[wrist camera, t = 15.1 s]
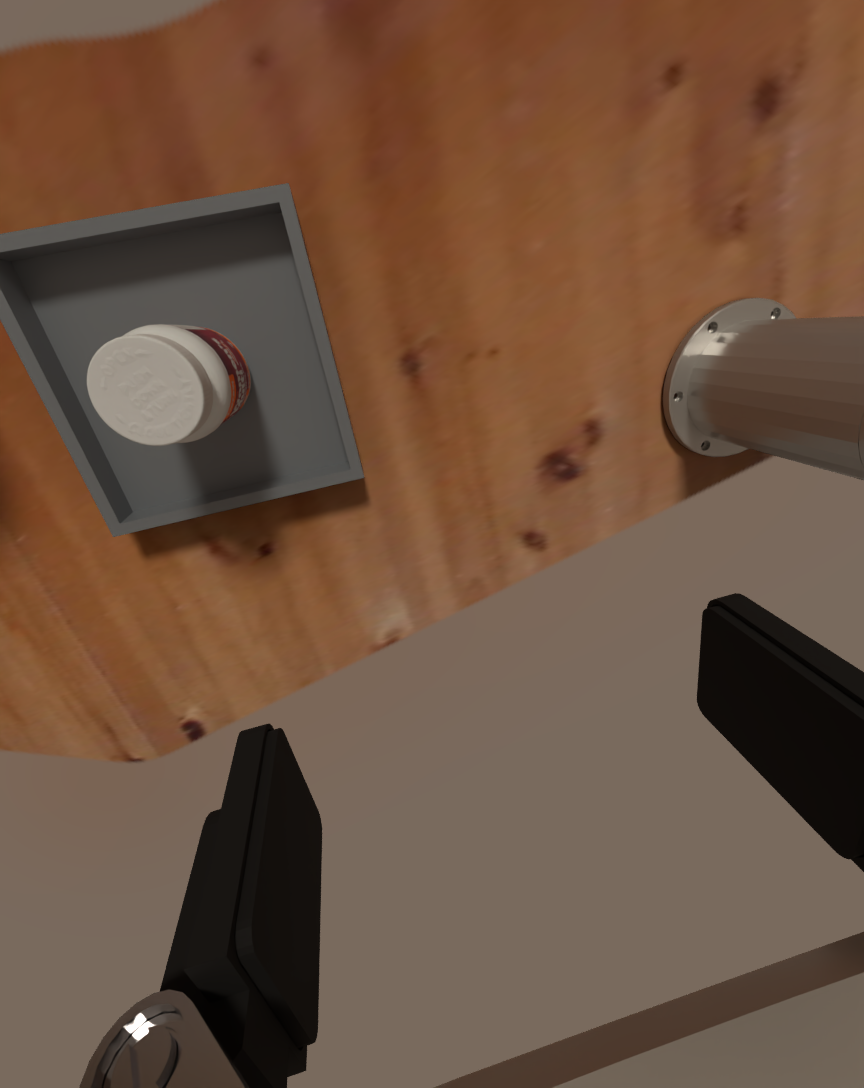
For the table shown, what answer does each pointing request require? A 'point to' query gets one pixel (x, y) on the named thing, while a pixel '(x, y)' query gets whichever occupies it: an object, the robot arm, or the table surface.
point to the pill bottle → (168, 383)
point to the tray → (194, 300)
